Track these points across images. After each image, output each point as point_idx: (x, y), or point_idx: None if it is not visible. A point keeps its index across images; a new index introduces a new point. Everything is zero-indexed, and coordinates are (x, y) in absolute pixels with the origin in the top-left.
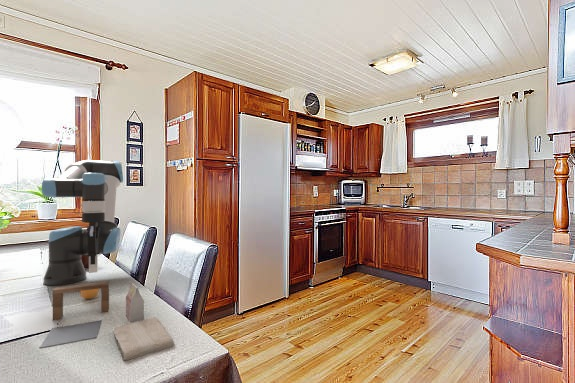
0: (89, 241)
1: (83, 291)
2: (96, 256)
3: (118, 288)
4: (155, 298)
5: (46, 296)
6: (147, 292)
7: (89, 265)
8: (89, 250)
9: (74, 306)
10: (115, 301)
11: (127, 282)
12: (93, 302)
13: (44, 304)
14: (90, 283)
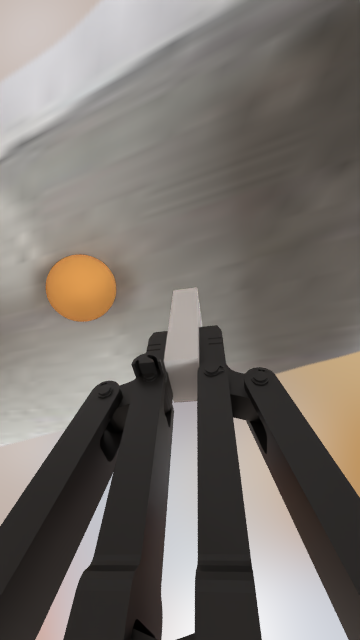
0: (4, 541)
1: (47, 277)
2: (174, 394)
3: None
4: None
5: (172, 17)
6: None
7: (170, 318)
8: (74, 428)
9: (9, 246)
10: (56, 352)
11: (275, 355)
12: None
13: (30, 89)
14: (72, 307)
